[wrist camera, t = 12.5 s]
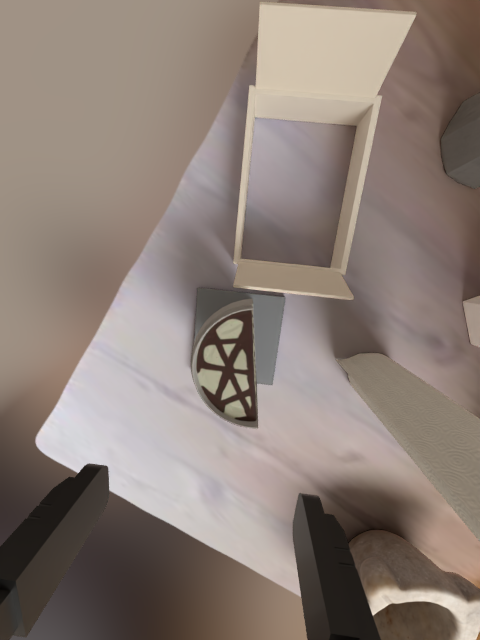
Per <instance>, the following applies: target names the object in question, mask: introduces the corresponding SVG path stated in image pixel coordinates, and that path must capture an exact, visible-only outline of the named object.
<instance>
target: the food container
mask: <svg viewBox="0 0 480 640" xmlns="http://www.w3.org/2000/svg"><path fill="white" fill-rule="evenodd" d="M191 372H192V377H193V381H194V384H195V387H196V389H197V392H198V394H199V395H200V397H201V399H202V400H203V402H204V403H205V404H206V406H207V407H208V408H209V409H210V410H211V411H212V412H213V413H215V414H216V415H217V416H219V417H220V418H222V419H223V420H225V421H227V422H229V423H231V424H234V425H237V426H241V427H246V428H254V429H258V408H257V377H256V352H255V329H254V306H253V298H252V299H245V300H240V301H237V302H233V303H231V304H229V305H227V306H224V307H222V308H221V309H219V310H218V311H216V312H215V313H214V314H213V315H212V316H210V317H209V318H208V319H207V320H206V322H205V323H204V324H203V326H202V327H201V328H200V330H199V332H198V334H197V336H196V338H195V342H194V345H193V350H192V357H191Z"/></svg>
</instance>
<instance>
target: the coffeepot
mask: <svg viewBox="0 0 480 640" xmlns="http://www.w3.org/2000/svg"><path fill="white" fill-rule="evenodd" d="M441 157H442V162H443V165H444V168H445V169H446V174H447V175H448V176H450V177H451V178H452V179H454V180H455V181H457V182H458V183H461V184H463V185H467V186H470V187H472V188H474V189H476V188H478V187H480V92H479V93H477V94H476V95H474V96H472V97H470V98H469V99H467V100H465V101H463V103H462V104H461V106H460V107H459V109H458V111H457V112H456V114H455V115H454V117H453V118H452V120H451V121H450V122H449V124H448V126H447V128H446V130H445V133H444V135H443V136H442V138H441Z"/></svg>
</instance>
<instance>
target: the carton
mask: <svg viewBox="0 0 480 640" xmlns="http://www.w3.org/2000/svg"><path fill="white" fill-rule="evenodd" d="M415 17H416V12H409V11H394V10H379V9H364V8H349V7H334V6H319V5H305V4H290V3H275V2H260V10H259V30H258V50H257V71H256V86H251V85H249V96H248V107H247V118H246V129H245V140H244V151H243V162H242V173H241V184H240V195H239V206H238V217H237V227H236V238H235V249H234V260H233V264H238V267H237V272H236V276H235V280H234V284H233V287H234V288H244V289H253V290H262V291H272V292H281V293H290V294H300V295H309V296H318V297H327V298H337V299H346V300H353V299H354V296H353V295H352V293H351V291H350V289H349V287H348V286H347V284H346V282H345V280H344V278H343V277H342V275H345V273H346V268H347V264H348V259H349V254H350V249H351V244H352V239H353V235H354V230H355V225H356V220H357V215H358V210H359V205H360V201H361V196H362V191H363V186H364V181H365V176H366V172H367V167H368V162H369V157H370V152H371V147H372V142H373V138H374V133H375V128H376V123H377V118H378V113H379V108H380V104H381V99H382V96H378V95H377V93H378V91H379V89H380V87H381V85H382V83H383V81H384V79H385V77H386V75H387V73H388V71H389V69H390V67H391V65H392V63H393V61H394V59H395V57H396V55H397V53H398V51H399V49H400V47H401V45H402V43H403V41H404V39H405V37H406V35H407V33H408V31H409V29H410V27H411V25H412V23H413V21H414V19H415ZM255 117H256V118H268V119H280V120H292V121H304V122H316V123H328V124H340V125H352V126H357V129H356V134H355V139H354V145H353V150H352V155H351V160H350V166H349V171H348V176H347V182H346V187H345V192H344V197H343V203H342V208H341V213H340V218H339V224H338V229H337V234H336V240H335V245H334V250H333V255H332V261H331V266H330V268H326V267H317V266H307V265H297V264H288V263H278V262H268V261H259V260H249V259H241V253H242V243H243V233H244V223H245V212H246V202H247V192H248V182H249V172H250V162H251V152H252V142H253V131H254V121H255Z"/></svg>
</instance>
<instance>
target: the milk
mask: <svg viewBox="0 0 480 640" xmlns="http://www.w3.org/2000/svg"><path fill="white" fill-rule="evenodd" d="M463 307H464V312H465V318H466V323H467V328H468V333H469V338H470V343H471V344H472V345H475V346H477V347H480V296H477V297H474V298H471V299H468V300H465V301H463Z"/></svg>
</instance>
